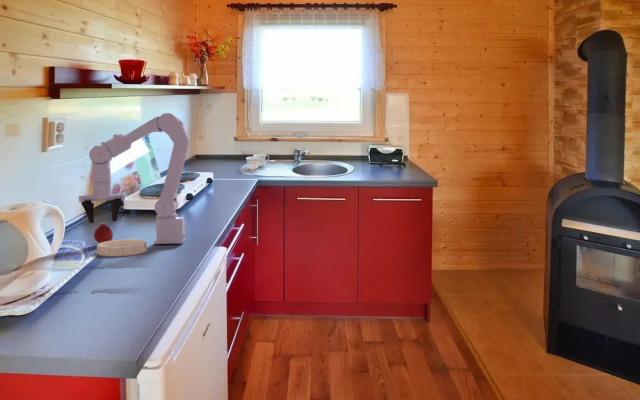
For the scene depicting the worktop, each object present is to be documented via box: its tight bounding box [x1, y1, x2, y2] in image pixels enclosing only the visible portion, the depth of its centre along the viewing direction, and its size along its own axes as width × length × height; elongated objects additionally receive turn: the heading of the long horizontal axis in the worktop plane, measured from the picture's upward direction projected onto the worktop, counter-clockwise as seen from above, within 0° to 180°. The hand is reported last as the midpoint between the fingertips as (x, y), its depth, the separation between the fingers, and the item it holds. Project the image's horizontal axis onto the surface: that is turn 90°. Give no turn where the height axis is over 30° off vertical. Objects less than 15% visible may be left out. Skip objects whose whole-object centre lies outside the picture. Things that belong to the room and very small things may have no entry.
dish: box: [96, 239, 148, 258], centre depth 155 cm, size 15×15×3 cm
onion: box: [93, 222, 114, 244], centre depth 165 cm, size 6×6×8 cm
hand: (103, 221), depth 165 cm, fingers open, 7 cm apart
